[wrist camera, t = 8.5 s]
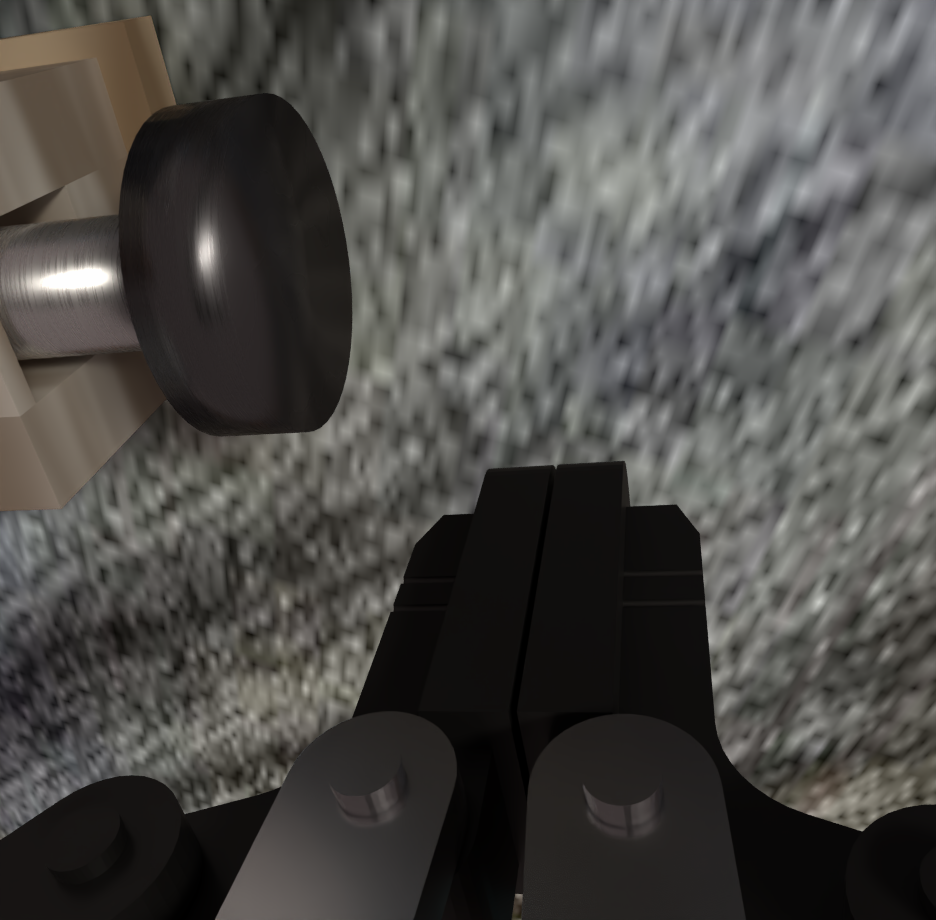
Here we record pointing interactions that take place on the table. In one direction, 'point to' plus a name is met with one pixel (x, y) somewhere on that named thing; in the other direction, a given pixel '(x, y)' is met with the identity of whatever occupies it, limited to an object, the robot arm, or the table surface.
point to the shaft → (202, 270)
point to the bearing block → (61, 198)
